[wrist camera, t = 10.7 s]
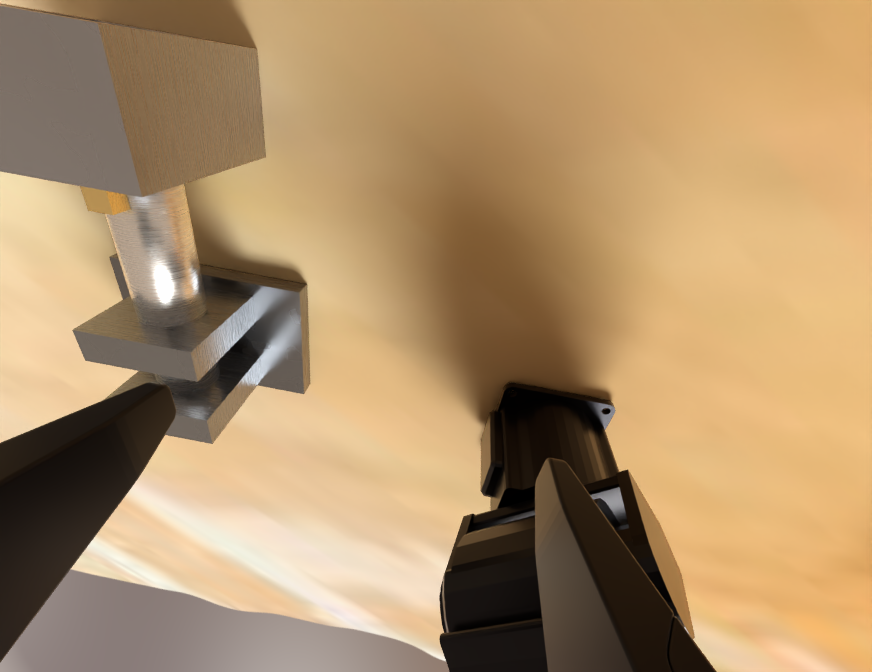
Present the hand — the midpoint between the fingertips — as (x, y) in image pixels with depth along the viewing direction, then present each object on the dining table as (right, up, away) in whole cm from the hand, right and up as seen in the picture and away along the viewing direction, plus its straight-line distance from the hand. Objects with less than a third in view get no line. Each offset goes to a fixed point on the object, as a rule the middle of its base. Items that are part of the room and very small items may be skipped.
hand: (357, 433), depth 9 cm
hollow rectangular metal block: (-9, +13, +7) cm, 17 cm away
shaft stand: (-10, +8, +11) cm, 16 cm away
